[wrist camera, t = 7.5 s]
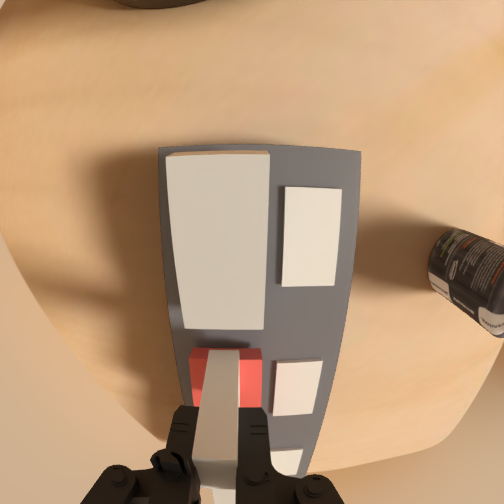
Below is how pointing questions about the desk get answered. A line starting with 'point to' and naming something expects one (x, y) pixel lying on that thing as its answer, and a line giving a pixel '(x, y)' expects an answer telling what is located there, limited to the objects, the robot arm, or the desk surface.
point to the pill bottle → (471, 276)
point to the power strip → (287, 290)
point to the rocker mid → (247, 368)
